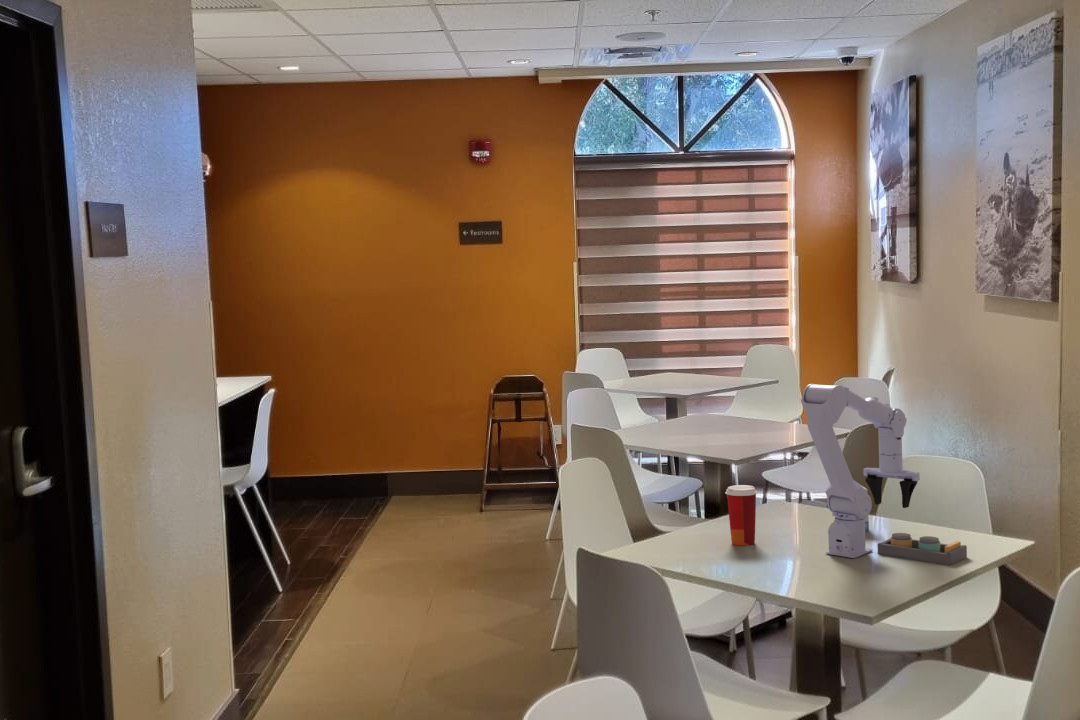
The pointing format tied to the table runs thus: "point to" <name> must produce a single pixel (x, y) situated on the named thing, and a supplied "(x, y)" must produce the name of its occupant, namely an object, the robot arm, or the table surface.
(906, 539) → the amber jar
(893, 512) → the table surface
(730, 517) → the coffee cup
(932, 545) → the teal jar
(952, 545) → the plate
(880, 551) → the grey rectangular tray
